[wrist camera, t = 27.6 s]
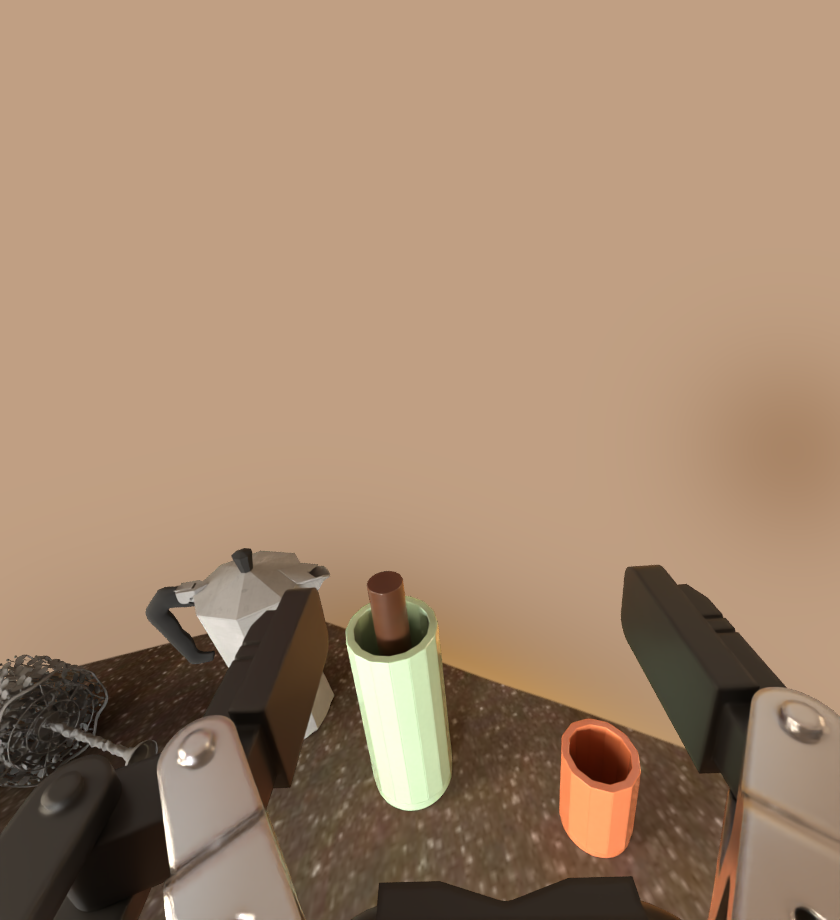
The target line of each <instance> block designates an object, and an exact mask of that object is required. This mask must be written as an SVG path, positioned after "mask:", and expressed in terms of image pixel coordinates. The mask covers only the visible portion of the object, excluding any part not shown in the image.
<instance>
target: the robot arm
mask: <svg viewBox="0 0 840 920" xmlns="http://www.w3.org/2000/svg"><path fill="white" fill-rule="evenodd" d="M621 622H622V628H623V631H624V635H625V637H626V640H627V642H628V644H629V645H630V647H631V649H632V651H633V652H634V655H635V656H636V658H637V660H638V662H639V664H640V666H641V667H642V669H643V671H644V673H645V675H646V677H647V678H648V680H649V682H650V684H651V686H652V688H653V689H654V691H655V693H656V695H657V697H658V699H659V700H660V702H661V704H662V706H663V708H664V710H665V711H666V713H667V715H668V717H669V719H670V721H671V722H672V724H673V726H674V728H675V730H676V731H677V733H678V735H679V737H680V739H681V741H682V743H683V744H684V746H685V748H686V750H687V752H688V753H689V755H690V757H691V759H692V761H693V763H694V764H695V766H696V768H697V770H698V772H699V773H721V774H722V776H723V777H724V779H725V781H726V782H727V784H728V786H729V789H728V793H727V797H726V805H725V812H724V819H723V826H722V833H721V840H720V848H719V855H718V862H717V869H716V876H715V883H714V890H713V896H712V901H711V906H710V911H709V916H708V920H840V716H839V715H838V714H836V713H835V712H834V711H833V710H832V709H830V708H829V707H828V706H826V705H825V704H823V703H822V702H820V701H818V700H817V699H815V698H812V697H810V696H809V695H806V694H804V693H802V692H799V691H796V690H792V689H788V688H786V686H785V685H784V684H783V683H782V682H781V681H780V680H779V679H778V677H777V676H776V675H775V674H774V673H773V672H772V670H771V669H770V668H769V667H768V666H767V665H766V664H765V662H764V661H763V660H762V659H761V658H760V657H759V656H758V655H757V653H756V652H755V651H754V650H753V649H752V648H751V646H749V644H748V643H747V642H746V641H745V640H744V638H743V637H742V636H741V635H740V634H739V633H738V632H735V628H734V627H733V626H732V625H731V624H730V623H729V621H728V620H727V619H726V618H723V615H722V613H721V612H720V611H719V610H718V609H717V608H716V607H715V605H714V604H713V603H712V602H711V601H710V600H709V599H708V598H707V597H706V596H704V595H703V594H701V593H699V592H698V591H696V590H695V589H693V588H692V587H690V586H689V585H687V584H681V585H677V584H676V582H675V581H674V580H673V579H672V578H671V576H670V575H669V574H668V573H667V571H666V570H665V569H664V568H663V567H662V566H660V565H649V566H633V567H627V569H626V571H625V577H624V588H623V598H622V608H621ZM327 654H328V631H327V626H326V622H325V618H324V614H323V609H322V605H321V601H320V597H319V593H318V590H317V589H316V588H315V587H311V588H297V589H287V590H286V591H285V592H284V594H283V596H282V598H281V600H280V602H279V605H278V607H277V609H276V610H266V611H265V612H264V613H263V614H262V615H261V616H260V617H259V618H258V619H257V620H256V621H255V622H254V623H253V624H252V625H251V627H250V629H249V631H248V632H247V634H246V636H245V638H244V640H243V642H242V646H240V648H239V650H238V651H237V653H236V655H235V660H233V661H232V663H231V665H230V667H229V669H228V670H227V672H226V674H225V676H224V678H223V680H222V682H221V684H220V686H219V688H218V689H217V691H216V693H215V695H214V697H213V699H212V701H211V703H210V705H209V707H208V708H207V710H206V712H205V714H204V716H203V718H200V719H197V720H195V721H193V722H191V723H190V724H188V725H187V726H185V727H184V728H183V729H181V730H180V731H179V732H178V733H177V734H176V735H174V736H173V738H172V739H171V740H170V741H169V742H168V743H167V745H166V746H165V748H164V749H163V751H162V753H160V754H157V755H155V756H152V757H149V758H146V759H143V760H140V761H138V762H135V763H132V764H129V765H126V766H123V767H121V768H118V769H115V770H114V769H113V767H112V765H111V763H110V762H109V760H108V759H107V758H106V757H104V756H102V755H87V756H83V757H80V758H77V759H75V760H73V761H70V762H69V763H67V764H65V765H63V766H61V767H60V768H58V769H57V770H55V771H54V772H53V773H51V774H50V775H49V776H47V777H46V778H45V779H44V780H43V781H42V782H41V783H40V784H39V785H38V786H37V787H36V788H35V789H34V790H33V791H32V792H31V793H30V795H29V796H28V797H27V798H26V800H25V801H24V803H23V804H22V805H21V807H20V808H19V809H18V811H17V812H16V813H15V815H14V816H13V818H12V819H11V820H10V822H9V823H8V824H7V826H6V827H5V828H4V830H3V831H2V833H1V834H0V920H138V919H139V916H140V914H141V912H142V909H143V907H144V904H145V902H146V900H147V897H148V895H149V892H150V890H151V888H152V887H154V886H156V885H159V884H161V883H163V882H164V904H165V912H166V920H306V919H305V916H304V913H303V910H302V908H301V905H300V902H299V899H298V896H297V894H296V891H295V888H294V885H293V882H292V879H291V877H290V874H289V871H288V868H287V865H286V862H285V860H284V857H283V854H282V851H281V848H280V845H279V843H278V840H277V837H276V834H275V831H274V828H273V825H272V823H271V820H270V817H269V814H268V811H267V806H268V802H269V799H270V796H271V793H272V790H273V788H290V787H291V784H292V780H293V777H294V773H295V769H296V766H297V762H298V759H299V755H300V752H301V748H302V744H303V741H304V737H305V734H306V730H307V727H308V723H309V719H310V716H311V712H312V709H313V705H314V701H315V698H316V694H317V691H318V687H319V684H320V680H321V676H322V673H323V669H324V666H325V662H326V658H327ZM351 920H681V919H680V918H678V917H676V916H674V915H673V914H671V913H669V912H668V911H665V910H663V909H661V908H659V907H656V906H654V905H652V904H650V903H646V902H643V901H640V898H639V895H638V892H637V889H636V886H635V883H634V880H633V877H632V876H629V877H590V878H567V879H565V880H562V881H560V882H557V883H555V884H552V885H549V886H547V887H544V888H542V889H539V890H537V891H534V892H532V893H529V894H526V895H524V896H521V897H519V898H516V899H514V900H510V901H501V900H497V899H494V898H491V897H488V896H484V895H481V894H478V893H475V892H472V891H469V890H466V889H462V888H459V887H456V886H453V885H450V884H447V883H443V882H440V881H432V882H392V883H379V890H378V902H377V906H376V907H373V908H371V909H368V910H366V911H364V912H363V913H361V914H359V915H357V916H356V917H354V918H352V919H351Z"/></svg>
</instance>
